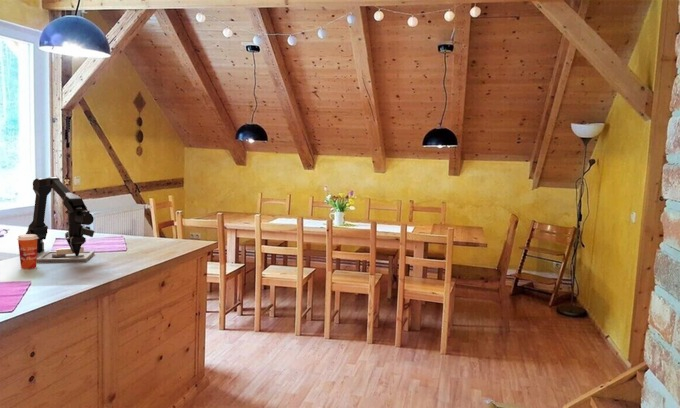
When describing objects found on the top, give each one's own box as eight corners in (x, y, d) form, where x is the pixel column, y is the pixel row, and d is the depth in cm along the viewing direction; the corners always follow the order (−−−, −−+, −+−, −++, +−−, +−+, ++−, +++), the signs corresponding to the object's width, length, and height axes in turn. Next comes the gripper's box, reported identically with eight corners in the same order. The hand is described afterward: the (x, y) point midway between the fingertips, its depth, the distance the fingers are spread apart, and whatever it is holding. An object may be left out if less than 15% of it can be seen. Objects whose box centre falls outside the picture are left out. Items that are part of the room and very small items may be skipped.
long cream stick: (51, 257, 246) (51, 250, 246) (51, 255, 251) (51, 247, 251) (84, 255, 253) (83, 248, 253) (83, 253, 258) (83, 245, 258)
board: (35, 262, 242) (35, 258, 242) (47, 254, 258) (47, 250, 258) (85, 261, 247) (85, 257, 247) (94, 254, 263) (94, 250, 263)
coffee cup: (19, 270, 227) (18, 237, 226) (17, 266, 234) (15, 234, 232) (40, 268, 233) (39, 236, 231) (37, 264, 239) (36, 233, 237)
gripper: (96, 224, 244) (97, 256, 246) (88, 219, 259) (89, 249, 260) (71, 226, 237) (72, 258, 239) (64, 221, 252) (65, 251, 254)
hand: (75, 254), depth 248 cm, fingers open, 8 cm apart
